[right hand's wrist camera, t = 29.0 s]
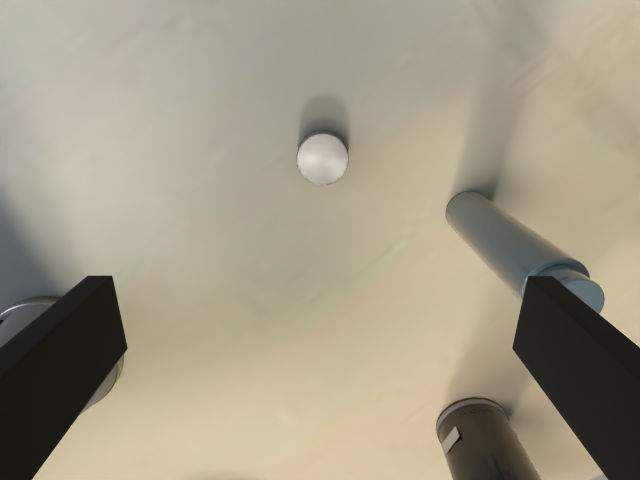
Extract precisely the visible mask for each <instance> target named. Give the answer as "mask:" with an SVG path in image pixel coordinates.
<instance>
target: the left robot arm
mask: <svg viewBox="0 0 640 480" xmlns="http://www.w3.org/2000/svg"><path fill="white" fill-rule="evenodd" d="M436 431H437V436H438V439H439V441H440V443H441V445H442V448H443V451H444V454H445V457H446V460H447V463H448V466H449V469H450V472H451V475H452V478H453V480H541V478H540V476H539V475H538V473H537V471H536V469H535V468H534V466H533V464H532V462H531V460H530V459H529V457H528V455H527V453H526V451H525V450H524V448H523V446H522V444H521V443H520V441H519V439H518V437H517V435H516V433H515V432H514V430H513V428H512V426H511V425H510V423H509V420H508V418H507V416H506V414H505V412H504V411H503V409H502V408H501V407H500V406H499V405H497V404H496V403H494V402H492V401H489V400H485V399H468V400H463V401H460V402H458V403H456V404H454V405H452V406H450V407H449V408H448V409H446V410H445V411H444V412H443V413H442V415H441V416H440V418H439V420H438V422H437V427H436Z"/></svg>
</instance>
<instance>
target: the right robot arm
mask: <svg viewBox="0 0 640 480" xmlns="http://www.w3.org/2000/svg"><path fill="white" fill-rule="evenodd" d="M127 349H128V348H127V343H126V339H125V334H124V329H123V325H122V320H121V315H120V311H119V306H118V301H117V296H116V292H115V287H114V282H113V278H112V276H87V277H86V278H85V279H83V280H82V281H81V282H80V283H78V284H77V285H76V286H75V287H74V288H72V289H71V290H70V291H69V292H68V293H66V294H65V295H64V296H63V297H61V298H54V297H36V298H30V299H26V300H23V301H21V302H18V303H16V304H15V305H13V306H12V307H10V308H9V309H7V310H6V311H5V312H3V313H2V314H0V480H32V479H33V477H34V476H35V474H36V473H37V472H38V470H39V469H40V468H41V466H42V465H43V463H44V462H45V461H46V459H47V458H48V457H49V455H50V454H51V453H52V451H53V450H54V448H55V447H56V446H57V444H58V443H59V442H60V440H61V439H62V437H63V436H64V435H65V433H66V432H67V431H68V429H69V428H70V427H71V425H72V424H73V422H74V421H75V420H76V418H77V417H78V416H79V415H80V414H81V413H83V412H84V411H85V410H87V409H88V408H89V407H90V406H92V405H94V404H95V403H97V402H99V401H100V400H101V399H102V398H104V397H105V396H106V395H107V394H108V393H109V391H110V390H111V389H112V387H113V386H114V384H115V383H116V381H117V380H118V378H119V376H120V374H121V371H122V367H123V354H124V353H125V351H126V350H127ZM512 349H513V350H514V351H515V353H516V354H517V355H518V357H519V358H520V359H521V361H522V362H523V364H524V365H525V366H526V368H527V369H528V370H529V372H530V373H531V375H532V376H533V377H534V379H535V380H536V381H537V383H538V384H539V385H540V387H541V388H542V390H543V391H544V392H545V394H546V395H547V396H548V398H549V399H550V401H551V402H552V403H553V405H554V406H555V407H556V409H557V410H558V411H559V413H560V414H561V416H562V417H563V418H564V420H565V421H566V422H567V424H568V425H569V427H570V428H571V429H572V431H573V432H574V433H575V435H576V436H577V437H578V439H579V440H580V442H581V443H582V444H583V446H584V447H585V448H586V450H587V451H588V453H589V454H590V455H591V457H592V458H593V459H594V461H595V462H596V463H597V465H598V466H599V468H600V469H601V470H602V472H603V473H604V474H605V476H606V477H607V478H608V480H640V348H639V347H638V346H637V345H636V344H635V343H633V342H632V341H631V340H630V339H628V338H627V337H626V336H625V335H624V334H622V333H621V332H620V331H619V330H618V329H616V328H615V327H614V326H613V325H611V324H610V323H609V322H608V321H607V320H605V319H604V318H603V317H602V316H600V315H599V314H598V313H597V312H596V311H594V310H593V309H592V308H591V307H590V306H588V305H587V304H586V303H585V302H583V301H582V300H581V299H580V298H579V297H577V296H576V295H575V294H574V293H572V292H571V291H570V290H569V289H568V288H566V287H565V286H564V285H563V284H562V283H560V282H559V281H558V280H557V279H555V278H554V277H553V276H528V278H527V282H526V287H525V292H524V296H523V301H522V306H521V311H520V315H519V320H518V325H517V329H516V334H515V339H514V343H513V348H512Z"/></svg>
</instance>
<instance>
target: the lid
mask: <svg viewBox="0 0 640 480" xmlns="http://www.w3.org/2000/svg"><path fill="white" fill-rule="evenodd" d="M299 147H300V148H299V151H298V153H297V164H298V165H297V166H298V168H299V170H300V172H301V174H302V175H303V176H304V177H305V178H306V179H307V180H308V181H310V182H312V183H314V184H317V185H328V184H331V183H334V182H335V181H337V180H338V179H340V178H341V177H342V175H343V174H344V173H345V171H346V169H347V165H348V162H349V161H348V150H347V149H346V147H345V145H344V142H343V140H341V139H340V138H339V137H338V136H337V135H336V134H334V133H331V132H328V131H326V130H325V131H317V132H316V131H315V132H314V133H312V134H310V135H308V136H306V138H305V139H304V140H303V142H302V143H300V146H299Z"/></svg>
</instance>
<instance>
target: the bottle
mask: <svg viewBox="0 0 640 480" xmlns="http://www.w3.org/2000/svg"><path fill="white" fill-rule="evenodd" d="M446 219H447V222H448V224H449V225H450V226H451V227H452V228H453V229H454V231H455V232H456V233H457V234H458V235H459V236H460V237H461V238H462V239H463V240H464V241H465V242H466V243H467V245H468V246H469V247H470V248H471V249H472V250H473V251H474V252H475V253H476V254H477V255H478V256H479V258H480V259H481V260H482V261H483V262H484V263H485V264H486V265H487V266H488V267H489V268H490V269H491V270H492V272H493V273H494V274H495V275H496V276H497V277H498V278H499V279H500V280H501V281H502V282H503V283H504V285H505V286H506V287H507V288H508V289H509V290H510V291H511V292H512V293H513V294H514V295H515V296H516V298H517V299H518V300H519V301H520V302H521V303H522V301H523V296H524V292H525V287H526V282H527V278H528V276H553V277H554V278H555V279H557V280H558V281H559V282H560V283H562V284H563V285H564V286H565V287H566V288H568V289H569V290H570V291H571V292H572V293H574V294H575V295H576V296H577V297H579V298H580V299H581V300H582V301H583V302H585V303H586V304H587V305H588V306H590V307H591V308H592V309H593V310H594V311H596V312H597V313H598V314H599V313H600V312H601V310H602V308H603V305H604V293H603V290H602V289H601V287H600V286H599V285H598V284H597V283H595V282H594V281H592V280H591V279H590V276H589V273H588V271H587V269H586V267H585V266H584V265H583V264H582V263H581V262H579V261H578V260H576V259H575V258H573V257H572V256H570V255H569V254H567V253H566V252H564V251H563V250H562V249H560V248H559V247H557V246H556V245H554V244H553V243H551V242H550V241H548V240H547V239H545V238H544V237H542V236H541V235H539V234H538V233H537V232H535V231H534V230H532V229H531V228H529V227H528V226H526V225H525V224H523V223H522V222H520V221H519V220H517V219H516V218H514V217H513V216H512V215H510V214H509V213H507V212H506V211H504V210H503V209H501V208H500V207H498V206H497V205H495V204H494V203H492V202H491V201H490V200H488V199H487V198H485V197H484V196H482V195H481V194H479V193H477V192H472V191H468V192H463V193H460V194H458V195H457V196H455V197H454V198H453V199H452V200H451V201H450V203H449V204H448V206H447V209H446Z"/></svg>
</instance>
